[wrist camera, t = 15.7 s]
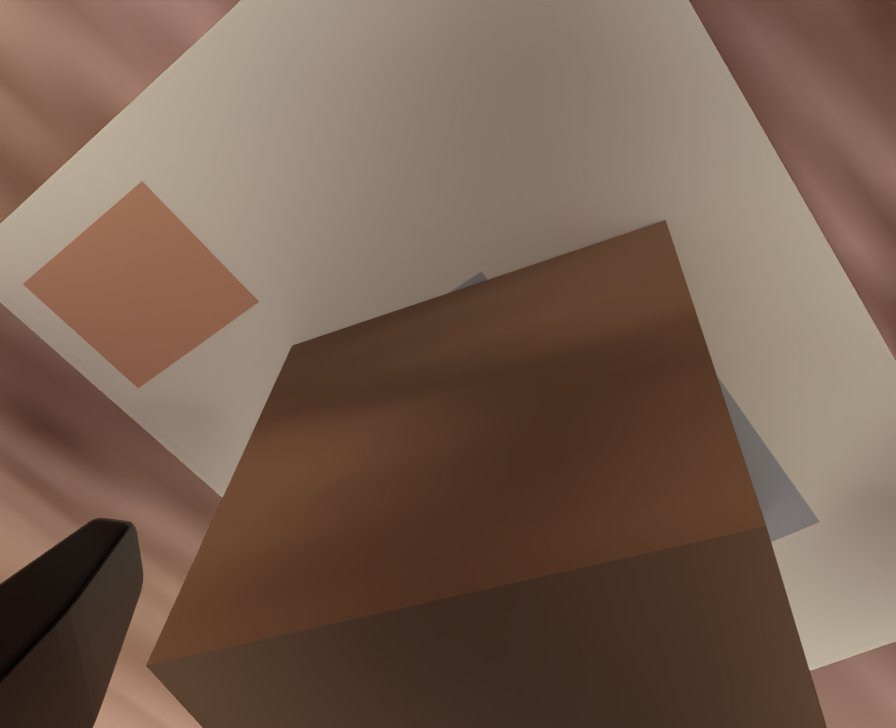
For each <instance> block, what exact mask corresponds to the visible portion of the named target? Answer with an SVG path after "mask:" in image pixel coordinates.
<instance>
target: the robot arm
mask: <svg viewBox="0 0 896 728" xmlns="http://www.w3.org/2000/svg"><path fill="white" fill-rule="evenodd" d="M142 584H143V567H142V561H141V555H140V548H139V542H138V536H137V531H136V528H135V526H134V524H133V523H131V522H129V521H123V520H115V519H108V518H97V519H94V520H92V521H90V522H88V523H87V524H86V525H84V526H83V527H81V528H80V529H78V530H77V531H75V532H74V533H73V534H71V535H70V536H68V537H67V538H65V539H64V540H63V541H61V542H60V543H58V544H57V545H55V546H54V547H53V548H51V549H50V550H48V551H47V552H45V553H44V554H43V555H41V556H40V557H38V558H37V559H35V560H34V561H32V562H31V563H30V564H28V565H27V566H25V567H24V568H22V569H21V570H20V571H18V572H17V573H15V574H14V575H12V576H11V577H10V578H8V579H7V580H5V581H4V582H2V583H1V584H0V728H93V726H94V724H95V721H96V719H97V716H98V713H99V711H100V708H101V705H102V702H103V700H104V697H105V694H106V691H107V688H108V685H109V682H110V680H111V677H112V674H113V671H114V668H115V665H116V662H117V659H118V656H119V654H120V651H121V648H122V645H123V642H124V639H125V636H126V633H127V631H128V628H129V625H130V622H131V619H132V616H133V613H134V610H135V607H136V605H137V602H138V599H139V596H140V593H141V589H142Z"/></svg>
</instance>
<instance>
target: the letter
mask: <svg viewBox="0 0 896 728" xmlns="http://www.w3.org/2000/svg"><path fill="white" fill-rule="evenodd" d="M664 220H666V223H667V226H668V229H669V232H670V235H671V238H672V241H673V244H674V247H675V250H676V253H677V256H678V259H679V262H680V265H681V268H682V271H683V274H684V277H685V280H686V283H687V286H688V289H689V292H690V296H691V299H692V302H693V305H694V308H695V311H696V314H697V317H698V320H699V323H700V326H701V329H702V332H703V335H704V338H705V341H706V344H707V347H708V350H709V353H710V356H711V359H712V362H713V365H714V368H715V371H716V375H717V378H718V381H719V384H720V387H721V390H722V393H723V396H724V399H725V402H726V405H727V408H728V411H729V414H730V417H731V420H732V423H733V426H734V429H735V432H736V435H737V438H738V441H739V444H740V447H741V450H742V454H743V457H744V460H745V463H746V466H747V469H748V472H749V475H750V478H751V481H752V484H753V487H754V490H755V493H756V496H757V499H758V502H759V505H760V508H761V511H762V514H763V517H764V520H765V523H766V526H767V530H768V533H769V536H770V540H771V543H772V547H773V550H774V553H775V557H776V560H777V563H778V567H779V570H780V573H781V577H782V580H783V583H784V587H785V590H786V593H787V597H788V600H789V603H790V607H791V610H792V613H793V617H794V620H795V623H796V627H797V630H798V633H799V637H800V640H801V644H802V647H803V650H804V654H805V657H806V660H807V664H808V667H809V670H810V671H811V670H814V669H817V668H820V667H823V666H826V665H829V664H832V663H835V662H838V661H840V660H843V659H846V658H849V657H852V656H855V655H858V654H861V653H864V652H867V651H869V650H872V649H875V648H878V647H881V646H884V645H887V644H890V643H893V642H896V360H895V358H894V357H893V355H892V353H891V351H890V350H889V348H888V346H887V344H886V343H885V341H884V339H883V337H882V336H881V334H880V332H879V330H878V329H877V327H876V325H875V323H874V322H873V320H872V318H871V317H870V315H869V313H868V311H867V310H866V308H865V306H864V304H863V303H862V301H861V299H860V297H859V296H858V294H857V292H856V290H855V289H854V287H853V285H852V283H851V282H850V280H849V278H848V276H847V275H846V273H845V271H844V270H843V268H842V266H841V264H840V263H839V261H838V259H837V257H836V256H835V254H834V252H833V250H832V249H831V247H830V245H829V243H828V242H827V240H826V238H825V236H824V235H823V233H822V231H821V229H820V228H819V226H818V224H817V223H816V221H815V219H814V217H813V216H812V214H811V212H810V210H809V209H808V207H807V205H806V203H805V202H804V200H803V198H802V196H801V195H800V193H799V191H798V189H797V188H796V186H795V184H794V182H793V181H792V179H791V177H790V175H789V174H788V172H787V170H786V169H785V167H784V165H783V163H782V162H781V160H780V158H779V156H778V155H777V153H776V151H775V149H774V148H773V146H772V144H771V142H770V141H769V139H768V137H767V135H766V134H765V132H764V130H763V128H762V127H761V125H760V123H759V122H758V120H757V118H756V116H755V115H754V113H753V111H752V109H751V108H750V106H749V104H748V102H747V101H746V99H745V97H744V95H743V94H742V92H741V90H740V88H739V87H738V85H737V83H736V81H735V80H734V78H733V76H732V75H731V73H730V71H729V69H728V68H727V66H726V64H725V62H724V61H723V59H722V57H721V55H720V54H719V52H718V50H717V48H716V47H715V45H714V43H713V41H712V40H711V38H710V36H709V34H708V33H707V31H706V29H705V27H704V26H703V24H702V22H701V21H700V19H699V17H698V15H697V14H696V12H695V10H694V8H693V7H692V5H691V3H690V1H689V0H241V1H240V2H238V3H237V4H236V5H235V6H234V7H233V8H232V9H231V10H230V11H229V12H228V13H227V14H226V15H224V16H223V17H222V18H221V19H220V20H219V21H218V22H217V23H216V24H215V25H214V26H213V27H212V28H210V29H209V30H208V31H207V32H206V33H205V34H204V35H203V36H202V37H201V38H200V39H199V40H198V41H196V42H195V43H194V44H193V45H192V46H191V47H190V48H189V49H188V50H187V51H186V52H185V53H184V54H182V55H181V56H180V57H179V58H178V59H177V60H176V61H175V62H174V63H173V64H172V65H171V66H170V67H168V68H167V69H166V70H165V71H164V72H163V73H162V74H161V75H160V76H159V77H158V78H157V79H156V80H154V81H153V82H152V83H151V84H150V85H149V86H148V87H147V88H146V89H145V90H144V91H143V92H142V93H140V94H139V95H138V96H137V97H136V98H135V99H134V100H133V101H132V102H131V103H130V104H129V105H128V106H126V107H125V108H124V109H123V110H122V111H121V112H120V113H119V114H118V115H117V116H116V117H115V118H114V119H112V120H111V121H110V122H109V123H108V124H107V125H106V126H105V127H104V128H103V129H102V130H101V131H100V132H98V133H97V134H96V135H95V136H94V137H93V138H92V139H91V140H90V141H89V142H88V143H87V144H85V145H84V146H83V147H82V148H81V149H80V150H79V151H78V152H77V153H76V154H75V155H74V156H73V157H71V158H70V159H69V160H68V161H67V162H66V163H65V164H64V165H63V166H62V167H61V168H60V169H59V170H57V171H56V172H55V173H54V174H53V175H52V176H51V177H50V178H49V179H48V180H47V181H46V182H45V183H43V184H42V185H41V186H40V187H39V188H38V189H37V190H36V191H35V192H34V193H33V194H32V195H31V196H29V197H28V198H27V199H26V200H25V201H24V202H23V203H22V204H21V205H20V206H19V207H18V208H17V209H15V210H14V211H13V212H12V213H11V214H10V215H9V216H8V217H7V218H6V219H5V220H4V221H3V222H1V223H0V303H1V304H2V305H4V306H5V307H6V308H7V309H8V310H9V311H10V312H12V313H13V314H14V315H15V316H16V317H17V318H18V319H20V320H21V321H22V322H23V323H24V324H25V325H26V326H27V327H29V328H30V329H31V330H32V331H33V332H34V333H35V334H37V335H38V336H39V337H40V338H41V339H42V340H43V341H45V342H46V343H47V344H48V345H49V346H50V347H51V348H52V349H54V350H55V351H56V352H57V353H58V354H59V355H60V356H62V357H63V358H64V359H65V360H66V361H67V362H68V363H69V364H71V365H72V366H73V367H74V368H75V369H76V370H77V371H79V372H80V373H81V374H82V375H83V376H84V377H85V378H87V379H88V380H89V381H90V382H91V383H92V384H93V385H94V386H96V387H97V388H98V389H99V390H100V391H101V392H102V393H104V394H105V395H106V396H107V397H108V398H109V399H110V400H112V401H113V402H114V403H115V404H116V405H117V406H118V407H119V408H121V409H122V410H123V411H124V412H125V413H126V414H127V415H129V416H130V417H131V418H132V419H133V420H134V421H135V422H136V423H138V424H139V425H140V426H141V427H142V428H143V429H144V430H146V431H147V432H148V433H149V434H150V435H151V436H152V437H154V438H155V439H156V440H157V441H158V442H159V443H160V444H161V445H163V446H164V447H165V448H166V449H167V450H168V451H169V452H171V453H172V454H173V455H174V456H175V457H176V458H177V459H179V460H180V461H181V462H182V463H183V464H184V465H185V466H186V467H188V468H189V469H190V470H191V471H192V472H193V473H194V474H196V475H197V476H198V477H199V478H200V479H201V480H202V481H204V482H205V483H206V484H207V485H208V486H209V487H210V488H211V489H213V490H214V491H215V492H216V493H217V494H218V495H219V496H221V497H222V498H223V496H224V494H225V492H226V489H227V487H228V485H229V483H230V481H231V478H232V476H233V474H234V472H235V470H236V467H237V465H238V463H239V461H240V459H241V456H242V454H243V452H244V450H245V448H246V445H247V443H248V441H249V439H250V437H251V434H252V432H253V430H254V428H255V426H256V423H257V421H258V419H259V417H260V415H261V412H262V410H263V408H264V406H265V404H266V401H267V399H268V397H269V395H270V393H271V390H272V388H273V386H274V384H275V382H276V379H277V377H278V375H279V373H280V371H281V369H282V366H283V364H284V362H285V360H286V358H287V355H288V353H289V351H290V349H291V347H292V345H295V344H298V343H301V342H304V341H307V340H310V339H313V338H316V337H319V336H322V335H325V334H328V333H331V332H334V331H337V330H340V329H343V328H346V327H349V326H352V325H355V324H358V323H361V322H364V321H367V320H370V319H373V318H376V317H379V316H382V315H385V314H388V313H391V312H394V311H397V310H400V309H403V308H406V307H408V306H411V305H414V304H417V303H420V302H423V301H426V300H429V299H432V298H435V297H438V296H441V295H444V294H447V293H450V292H453V291H456V290H459V289H462V288H465V287H468V286H471V285H474V284H477V283H480V282H483V281H486V280H489V279H492V278H495V277H498V276H501V275H504V274H507V273H510V272H513V271H516V270H519V269H522V268H525V267H528V266H531V265H534V264H536V263H539V262H542V261H545V260H548V259H551V258H554V257H557V256H560V255H563V254H566V253H569V252H572V251H575V250H578V249H581V248H584V247H587V246H590V245H593V244H596V243H599V242H602V241H605V240H608V239H611V238H614V237H617V236H620V235H623V234H626V233H629V232H632V231H635V230H638V229H641V228H644V227H647V226H650V225H653V224H656V223H659V222H662V221H664Z"/></svg>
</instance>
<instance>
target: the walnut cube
mask: <svg viewBox="0 0 896 728" xmlns="http://www.w3.org/2000/svg"><path fill="white" fill-rule="evenodd" d="M146 666H147V667H148V668H149V669H150V670H151V671H152V672H153V673H154V675H155V676H156V677H157V678H158V679H159V680H160V681H161V682H162V683H163V684H164V686H165V687H166V688H167V689H168V690H169V691H170V692H171V693H172V694H173V695H174V696H175V698H176V699H177V700H178V701H179V702H180V703H181V704H182V705H183V706H184V707H185V709H186V710H187V711H188V712H189V713H190V714H191V715H192V716H193V717H194V718H195V719H196V721H197V722H198V723H199V724H200V725H201V726H202V727H203V728H827V727H826V724H825V720H824V717H823V714H822V710H821V707H820V704H819V700H818V697H817V694H816V690H815V687H814V684H813V680H812V677H811V674H810V670H809V667H808V664H807V660H806V657H805V654H804V650H803V647H802V644H801V640H800V637H799V633H798V630H797V627H796V623H795V620H794V617H793V613H792V610H791V607H790V603H789V600H788V597H787V593H786V590H785V587H784V583H783V580H782V577H781V573H780V570H779V567H778V563H777V560H776V557H775V553H774V550H773V547H772V543H771V540H770V536H769V533H768V530H767V526H766V523H765V520H764V517H763V514H762V511H761V508H760V505H759V502H758V499H757V496H756V493H755V490H754V487H753V484H752V481H751V478H750V475H749V472H748V469H747V466H746V463H745V460H744V457H743V454H742V450H741V447H740V444H739V441H738V438H737V435H736V432H735V429H734V426H733V423H732V420H731V417H730V414H729V411H728V408H727V405H726V402H725V399H724V396H723V393H722V390H721V387H720V384H719V381H718V378H717V375H716V371H715V368H714V365H713V362H712V359H711V356H710V353H709V350H708V347H707V344H706V341H705V338H704V335H703V332H702V329H701V326H700V323H699V320H698V317H697V314H696V311H695V308H694V305H693V302H692V299H691V296H690V292H689V289H688V286H687V283H686V280H685V277H684V274H683V271H682V268H681V265H680V262H679V259H678V256H677V253H676V250H675V247H674V244H673V241H672V238H671V235H670V232H669V229H668V226H667V223H666V220H664V221H662V222H659V223H656V224H653V225H650V226H647V227H644V228H641V229H638V230H635V231H632V232H629V233H626V234H623V235H620V236H617V237H614V238H611V239H608V240H605V241H602V242H599V243H596V244H593V245H590V246H587V247H584V248H581V249H578V250H575V251H572V252H569V253H566V254H563V255H560V256H557V257H554V258H551V259H548V260H545V261H542V262H539V263H536V264H534V265H531V266H528V267H525V268H522V269H519V270H516V271H513V272H510V273H507V274H504V275H501V276H498V277H495V278H492V279H489V280H486V281H483V282H480V283H477V284H474V285H471V286H468V287H465V288H462V289H459V290H456V291H453V292H450V293H447V294H444V295H441V296H438V297H435V298H432V299H429V300H426V301H423V302H420V303H417V304H414V305H411V306H408V307H406V308H403V309H400V310H397V311H394V312H391V313H388V314H385V315H382V316H379V317H376V318H373V319H370V320H367V321H364V322H361V323H358V324H355V325H352V326H349V327H346V328H343V329H340V330H337V331H334V332H331V333H328V334H325V335H322V336H319V337H316V338H313V339H310V340H307V341H304V342H301V343H298V344H295V345H292V347H291V349H290V351H289V353H288V355H287V358H286V360H285V362H284V364H283V366H282V369H281V371H280V373H279V375H278V377H277V379H276V382H275V384H274V386H273V388H272V390H271V393H270V395H269V397H268V399H267V401H266V404H265V406H264V408H263V410H262V412H261V415H260V417H259V419H258V421H257V423H256V426H255V428H254V430H253V432H252V434H251V437H250V439H249V441H248V443H247V445H246V448H245V450H244V452H243V454H242V456H241V459H240V461H239V463H238V465H237V467H236V470H235V472H234V474H233V476H232V478H231V481H230V483H229V485H228V487H227V489H226V492H225V494H224V496H223V498H222V500H221V503H220V505H219V507H218V509H217V511H216V514H215V516H214V518H213V520H212V522H211V525H210V527H209V529H208V531H207V533H206V536H205V538H204V540H203V542H202V544H201V547H200V549H199V551H198V553H197V555H196V557H195V560H194V562H193V564H192V566H191V568H190V571H189V573H188V575H187V577H186V579H185V582H184V584H183V586H182V588H181V590H180V593H179V595H178V597H177V599H176V601H175V604H174V606H173V608H172V610H171V612H170V615H169V617H168V619H167V621H166V623H165V626H164V628H163V630H162V632H161V634H160V637H159V639H158V641H157V643H156V645H155V648H154V650H153V652H152V654H151V656H150V659H149V661H148V663H147V665H146Z"/></svg>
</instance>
